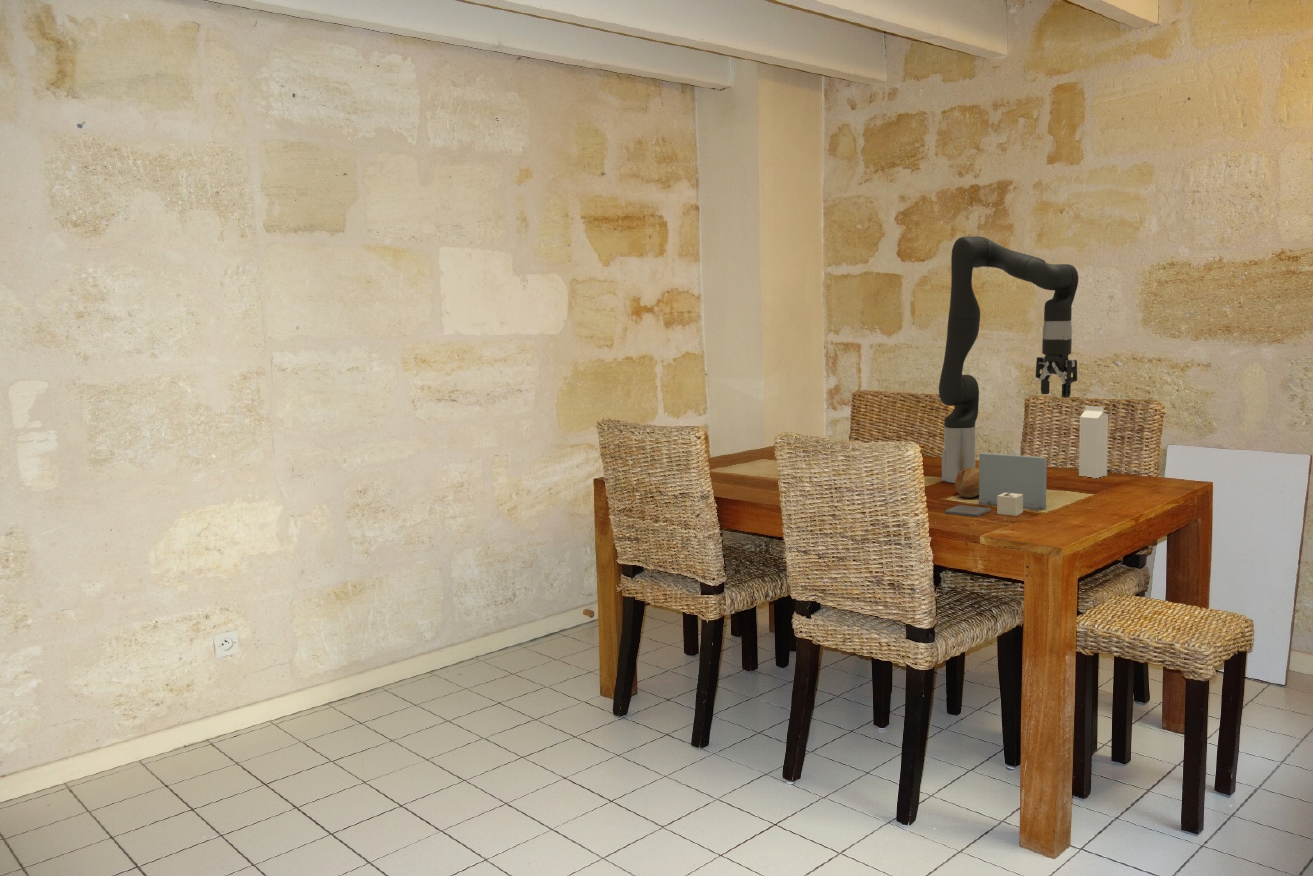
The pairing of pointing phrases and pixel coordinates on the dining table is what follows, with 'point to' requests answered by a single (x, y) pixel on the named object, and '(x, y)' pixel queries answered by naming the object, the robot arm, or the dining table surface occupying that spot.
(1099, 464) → the milk
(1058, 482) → the dining table surface
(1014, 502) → the letter cube
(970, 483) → the bread roll
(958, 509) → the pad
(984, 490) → the screen
